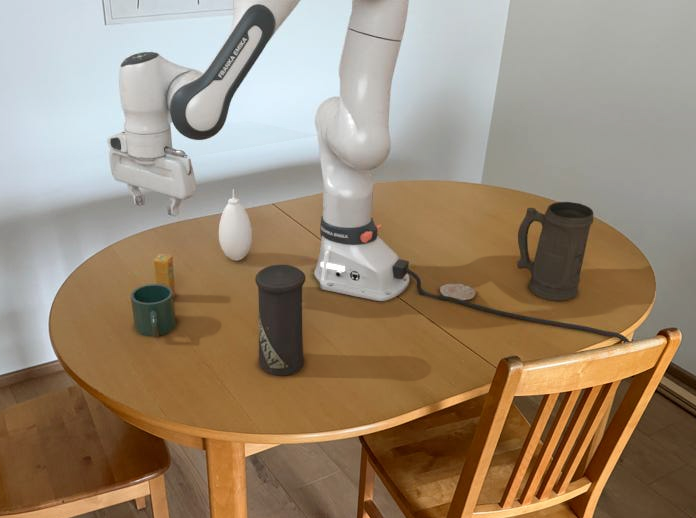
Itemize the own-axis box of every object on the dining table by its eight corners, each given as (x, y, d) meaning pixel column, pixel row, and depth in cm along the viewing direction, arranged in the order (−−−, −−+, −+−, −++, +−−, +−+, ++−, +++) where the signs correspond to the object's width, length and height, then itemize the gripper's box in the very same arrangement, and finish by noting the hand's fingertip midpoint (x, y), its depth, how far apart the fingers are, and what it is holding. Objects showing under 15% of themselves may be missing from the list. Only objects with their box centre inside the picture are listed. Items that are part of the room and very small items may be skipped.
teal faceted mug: (135, 317, 152) (130, 285, 148) (174, 313, 153) (171, 282, 149) (135, 346, 142) (130, 314, 138) (178, 342, 144) (174, 310, 140)
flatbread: (476, 288, 163) (477, 285, 162) (473, 304, 157) (473, 300, 157) (441, 283, 165) (441, 279, 164) (436, 298, 159) (436, 294, 159)
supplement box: (171, 302, 157) (167, 261, 151) (156, 300, 158) (151, 259, 152) (176, 295, 160) (172, 254, 154) (162, 293, 160) (157, 253, 155)
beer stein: (583, 285, 165) (597, 202, 154) (577, 305, 157) (591, 220, 146) (515, 275, 171) (525, 195, 160) (506, 295, 163) (515, 212, 152)
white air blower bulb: (239, 269, 170) (236, 197, 160) (214, 260, 174) (209, 190, 164) (259, 257, 176) (257, 187, 166) (234, 249, 179) (230, 180, 169)
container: (257, 352, 141) (254, 261, 130) (302, 350, 142) (303, 259, 130) (258, 378, 134) (255, 284, 123) (306, 376, 134) (307, 282, 123)
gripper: (200, 148, 137) (205, 216, 144) (123, 129, 146) (132, 194, 154) (178, 157, 132) (184, 226, 140) (100, 137, 141) (110, 203, 149)
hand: (156, 209), depth 147 cm, fingers open, 8 cm apart
